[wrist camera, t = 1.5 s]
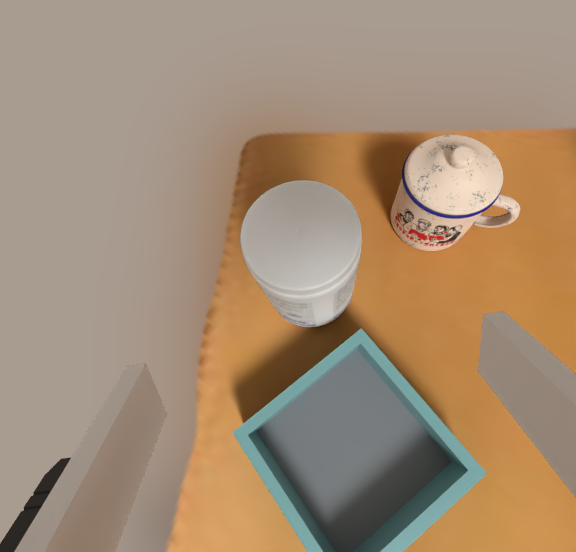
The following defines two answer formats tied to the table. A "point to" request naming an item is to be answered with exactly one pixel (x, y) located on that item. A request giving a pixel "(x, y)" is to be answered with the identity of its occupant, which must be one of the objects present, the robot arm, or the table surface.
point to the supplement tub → (303, 250)
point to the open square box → (357, 454)
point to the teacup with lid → (448, 192)
